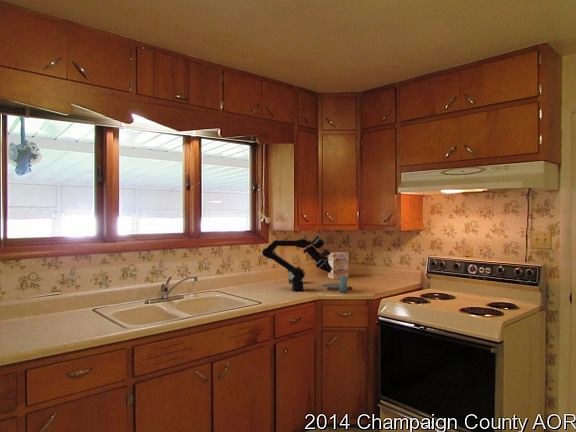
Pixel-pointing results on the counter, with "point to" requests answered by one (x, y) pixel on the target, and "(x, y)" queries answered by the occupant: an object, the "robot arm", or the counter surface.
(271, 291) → the counter surface
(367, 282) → the counter surface
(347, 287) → the bar
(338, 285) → the mat
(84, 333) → the counter surface
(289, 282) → the food container
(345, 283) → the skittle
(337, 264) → the coffeecake box
